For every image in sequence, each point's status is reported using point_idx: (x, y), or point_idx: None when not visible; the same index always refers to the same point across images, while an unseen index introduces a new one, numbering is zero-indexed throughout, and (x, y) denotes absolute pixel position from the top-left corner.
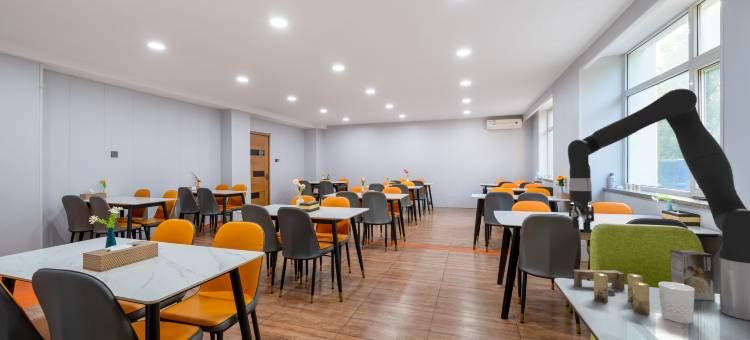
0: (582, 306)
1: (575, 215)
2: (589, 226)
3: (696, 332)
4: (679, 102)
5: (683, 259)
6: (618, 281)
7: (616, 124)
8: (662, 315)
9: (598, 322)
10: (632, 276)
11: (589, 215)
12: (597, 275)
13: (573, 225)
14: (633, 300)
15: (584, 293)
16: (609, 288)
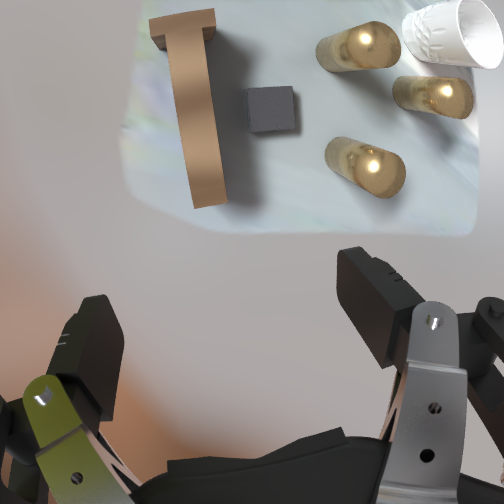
0: (387, 223)
1: (34, 434)
2: (405, 290)
3: None
4: None
5: None
6: (204, 35)
7: None
8: (421, 60)
9: (449, 220)
10: (394, 63)
11: (457, 385)
12: (397, 192)
13: (119, 359)
14: (422, 111)
15: (289, 182)
16: (269, 93)
